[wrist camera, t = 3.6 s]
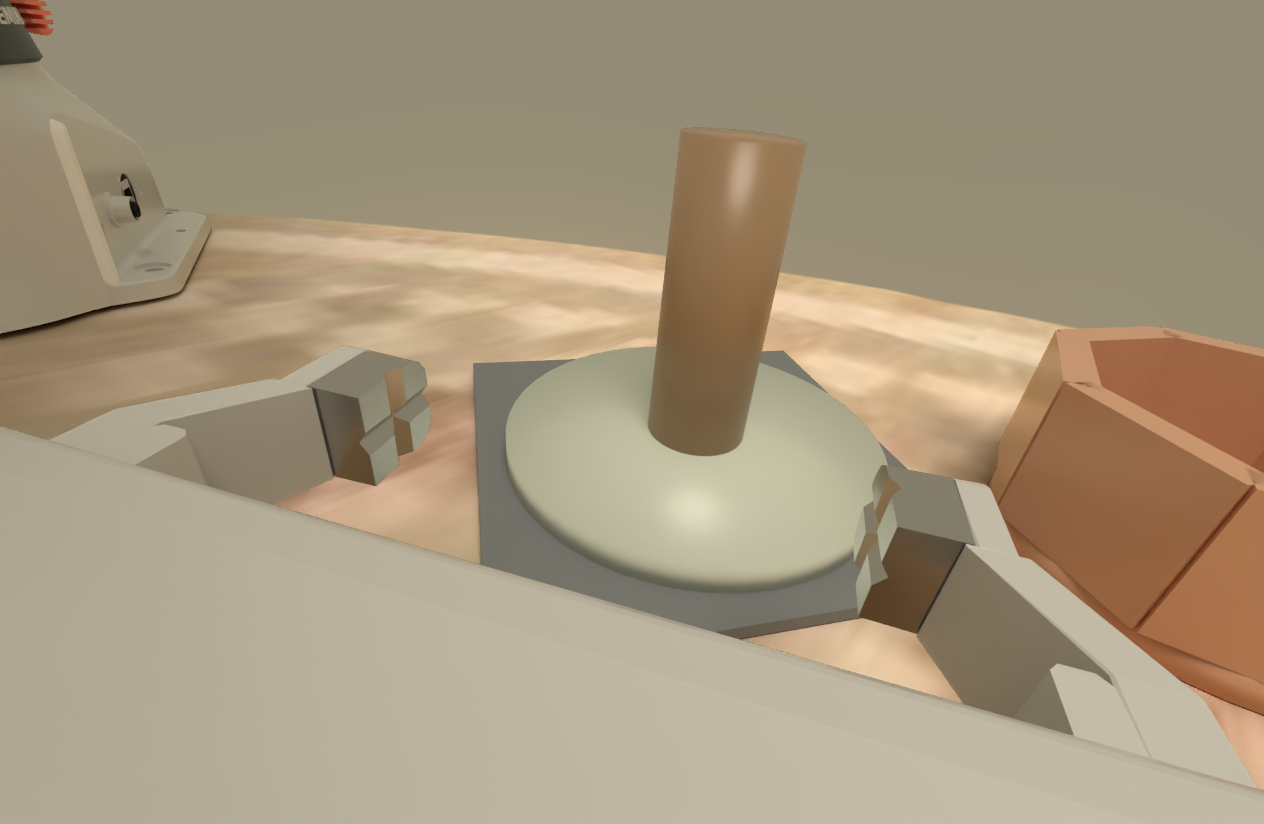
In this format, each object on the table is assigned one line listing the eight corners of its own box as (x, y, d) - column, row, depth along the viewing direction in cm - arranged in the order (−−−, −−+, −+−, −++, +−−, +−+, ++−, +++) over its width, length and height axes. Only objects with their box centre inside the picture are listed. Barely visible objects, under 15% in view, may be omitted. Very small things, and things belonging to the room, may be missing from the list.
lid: (496, 372, 26) (482, 98, 20) (774, 360, 30) (830, 123, 24) (524, 629, 15) (511, 171, 9) (972, 559, 18) (1170, 197, 12)
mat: (474, 373, 27) (473, 363, 27) (781, 358, 31) (783, 350, 31) (486, 683, 14) (485, 670, 14) (1015, 590, 18) (1022, 579, 18)
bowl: (917, 470, 23) (976, 332, 20) (1140, 446, 26) (1222, 323, 23) (1256, 786, 13) (1477, 614, 10) (1551, 691, 16) (1793, 534, 13)
